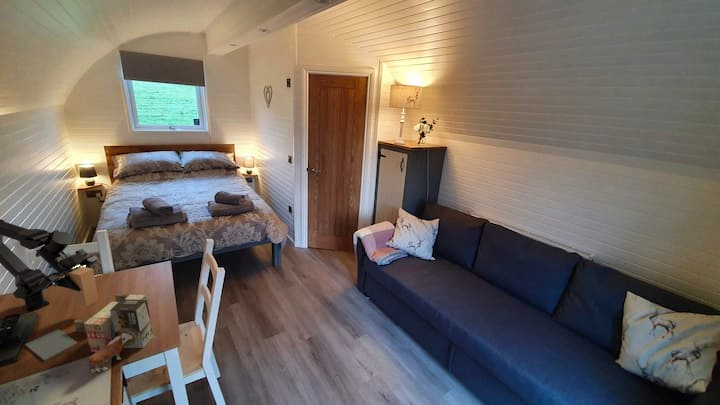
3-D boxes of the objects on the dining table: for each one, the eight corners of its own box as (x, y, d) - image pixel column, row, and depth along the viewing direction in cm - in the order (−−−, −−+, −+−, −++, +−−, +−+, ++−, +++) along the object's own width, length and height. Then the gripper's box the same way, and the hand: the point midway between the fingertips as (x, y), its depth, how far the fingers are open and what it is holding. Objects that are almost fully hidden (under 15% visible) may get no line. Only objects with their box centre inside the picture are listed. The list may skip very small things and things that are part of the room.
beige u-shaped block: (76, 331, 116) (73, 321, 115) (119, 302, 134) (117, 293, 132) (96, 334, 115) (94, 324, 114) (137, 305, 133) (135, 296, 131)
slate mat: (25, 345, 108) (25, 344, 108) (58, 330, 116) (58, 329, 116) (44, 361, 103) (44, 359, 103) (78, 343, 111) (77, 342, 110)
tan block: (75, 304, 121) (68, 272, 117) (87, 297, 126) (81, 266, 122) (86, 306, 121) (80, 274, 117) (98, 299, 126) (93, 268, 122)
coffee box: (154, 336, 116) (148, 299, 112) (143, 348, 110) (136, 310, 106) (129, 335, 116) (122, 298, 111) (116, 348, 110) (108, 309, 105)
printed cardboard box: (134, 313, 128) (129, 287, 124) (149, 314, 128) (144, 288, 124) (90, 352, 107) (83, 323, 104) (108, 353, 107) (101, 324, 104)
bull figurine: (137, 350, 110) (133, 331, 107) (95, 379, 97) (90, 358, 95) (128, 346, 111) (124, 327, 108) (86, 375, 99) (80, 354, 96)
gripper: (38, 257, 108) (72, 289, 110) (90, 236, 126) (118, 264, 128) (24, 274, 111) (57, 304, 113) (77, 251, 129) (104, 278, 131)
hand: (87, 286), depth 121 cm, fingers closed on tan block, 5 cm apart
